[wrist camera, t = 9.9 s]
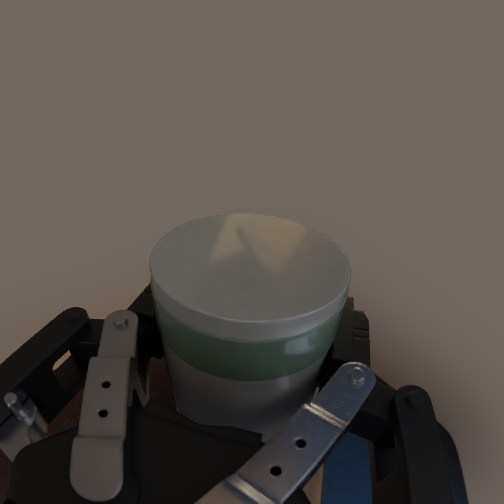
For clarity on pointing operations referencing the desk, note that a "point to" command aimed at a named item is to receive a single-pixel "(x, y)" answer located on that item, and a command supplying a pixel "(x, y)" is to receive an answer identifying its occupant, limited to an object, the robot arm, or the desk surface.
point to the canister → (246, 316)
